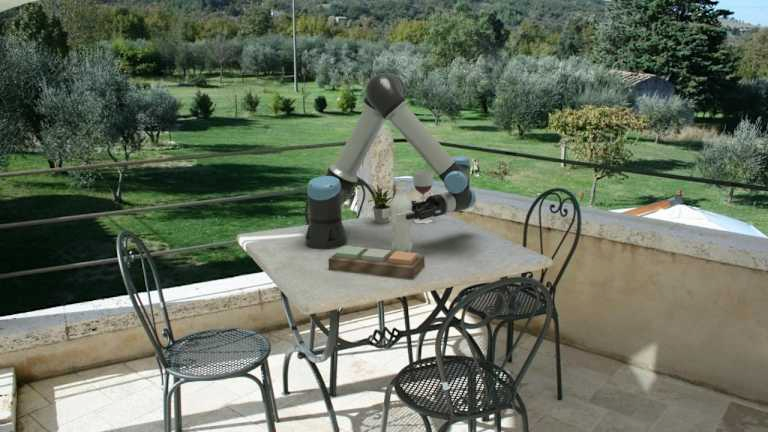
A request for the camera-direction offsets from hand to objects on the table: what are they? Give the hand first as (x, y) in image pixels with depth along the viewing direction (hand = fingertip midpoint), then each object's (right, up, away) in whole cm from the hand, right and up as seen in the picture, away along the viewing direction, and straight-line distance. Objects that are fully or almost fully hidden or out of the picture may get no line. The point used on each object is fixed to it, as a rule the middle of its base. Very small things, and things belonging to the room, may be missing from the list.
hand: (390, 216), depth 203 cm
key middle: (-4, -14, -7) cm, 17 cm away
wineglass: (+14, -2, +45) cm, 48 cm away
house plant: (-4, -2, +46) cm, 46 cm away
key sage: (-13, -14, -4) cm, 19 cm away
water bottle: (+4, -13, +7) cm, 15 cm away
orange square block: (+4, -15, -10) cm, 19 cm away
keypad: (-4, -16, -7) cm, 18 cm away
